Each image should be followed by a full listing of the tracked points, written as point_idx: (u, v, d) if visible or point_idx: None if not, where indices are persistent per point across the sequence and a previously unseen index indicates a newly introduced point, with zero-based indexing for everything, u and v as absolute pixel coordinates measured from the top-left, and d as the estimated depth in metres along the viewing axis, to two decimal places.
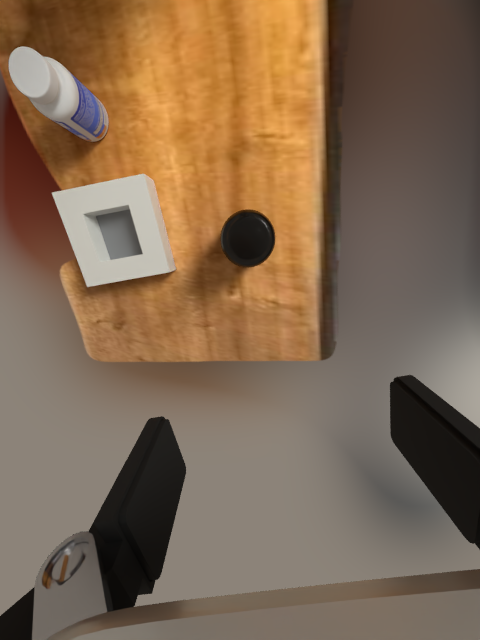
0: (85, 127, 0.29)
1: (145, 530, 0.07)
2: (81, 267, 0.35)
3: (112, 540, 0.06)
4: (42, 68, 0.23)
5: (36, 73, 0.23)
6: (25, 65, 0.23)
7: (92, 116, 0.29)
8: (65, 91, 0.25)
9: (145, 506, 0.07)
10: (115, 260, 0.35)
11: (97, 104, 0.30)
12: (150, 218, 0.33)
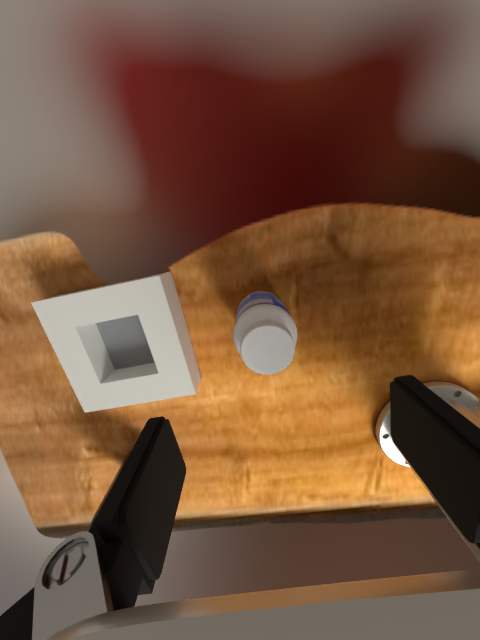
0: None
1: (145, 530, 0.07)
2: (59, 298, 0.23)
3: (112, 540, 0.06)
4: (271, 368, 0.17)
5: (265, 360, 0.17)
6: (274, 348, 0.17)
7: None
8: None
9: (145, 506, 0.07)
10: (83, 348, 0.24)
11: None
12: (146, 396, 0.26)
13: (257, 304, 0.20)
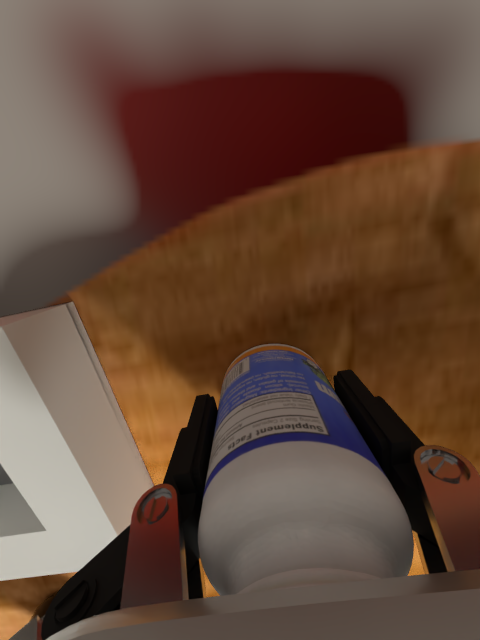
0: None
1: None
2: None
3: (187, 492, 0.07)
4: None
5: None
6: None
7: None
8: None
9: None
10: None
11: None
12: (29, 568, 0.12)
13: (276, 439, 0.06)
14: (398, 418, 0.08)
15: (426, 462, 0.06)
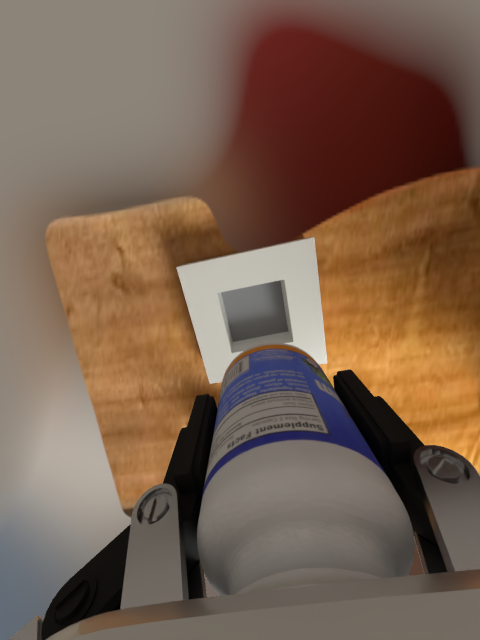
0: None
1: None
2: (206, 262, 0.22)
3: (187, 491, 0.07)
4: None
5: None
6: None
7: None
8: None
9: None
10: (220, 316, 0.24)
11: None
12: None
13: (276, 438, 0.06)
14: (398, 418, 0.08)
15: (426, 462, 0.06)
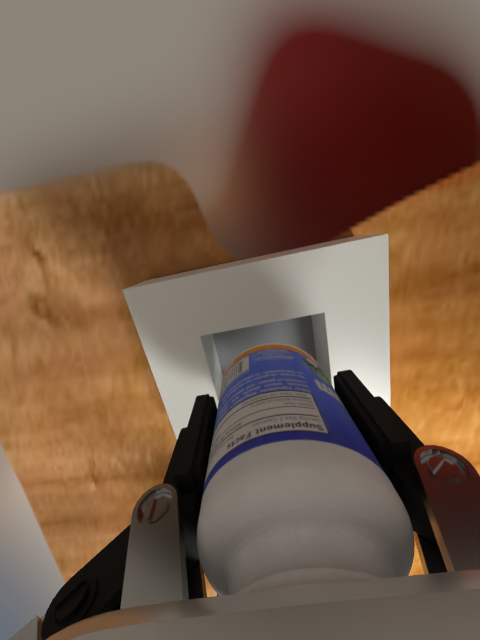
0: None
1: None
2: (178, 282, 0.12)
3: (187, 492, 0.07)
4: None
5: None
6: None
7: None
8: None
9: None
10: (207, 374, 0.13)
11: None
12: None
13: (275, 438, 0.06)
14: (398, 418, 0.08)
15: (426, 462, 0.06)
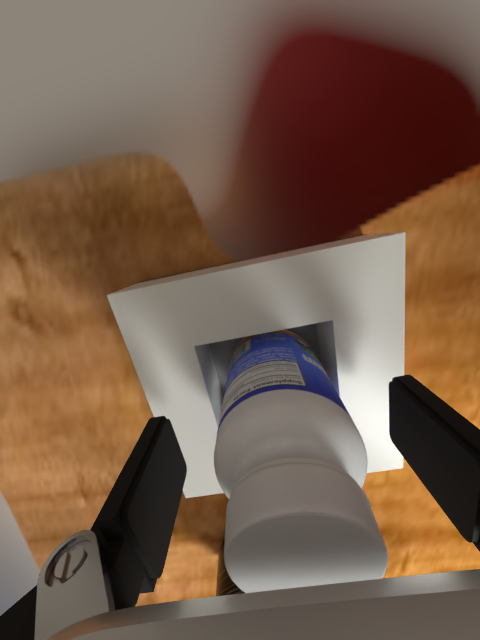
0: None
1: (147, 529, 0.07)
2: (168, 286, 0.10)
3: (114, 539, 0.06)
4: None
5: (299, 586, 0.06)
6: (326, 562, 0.06)
7: None
8: None
9: (147, 505, 0.07)
10: (202, 388, 0.12)
11: None
12: None
13: (267, 389, 0.08)
14: None
15: None
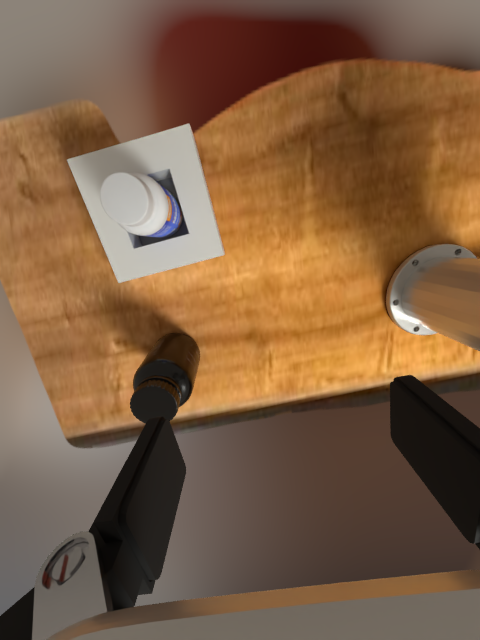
0: None
1: (145, 530, 0.07)
2: (93, 153, 0.24)
3: (112, 540, 0.06)
4: (132, 217, 0.20)
5: (125, 209, 0.20)
6: (129, 195, 0.19)
7: None
8: (135, 227, 0.22)
9: (145, 506, 0.07)
10: None
11: (163, 235, 0.27)
12: (177, 260, 0.27)
13: None
14: None
15: None
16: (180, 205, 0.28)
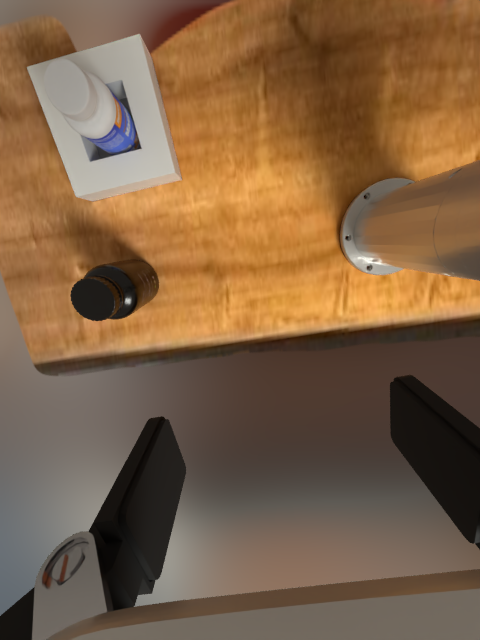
0: None
1: (145, 530, 0.07)
2: None
3: (112, 540, 0.06)
4: (74, 106, 0.21)
5: (67, 97, 0.21)
6: (70, 83, 0.21)
7: (99, 146, 0.27)
8: (83, 125, 0.23)
9: (145, 506, 0.07)
10: None
11: (119, 150, 0.28)
12: (131, 176, 0.29)
13: None
14: None
15: None
16: None
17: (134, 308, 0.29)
